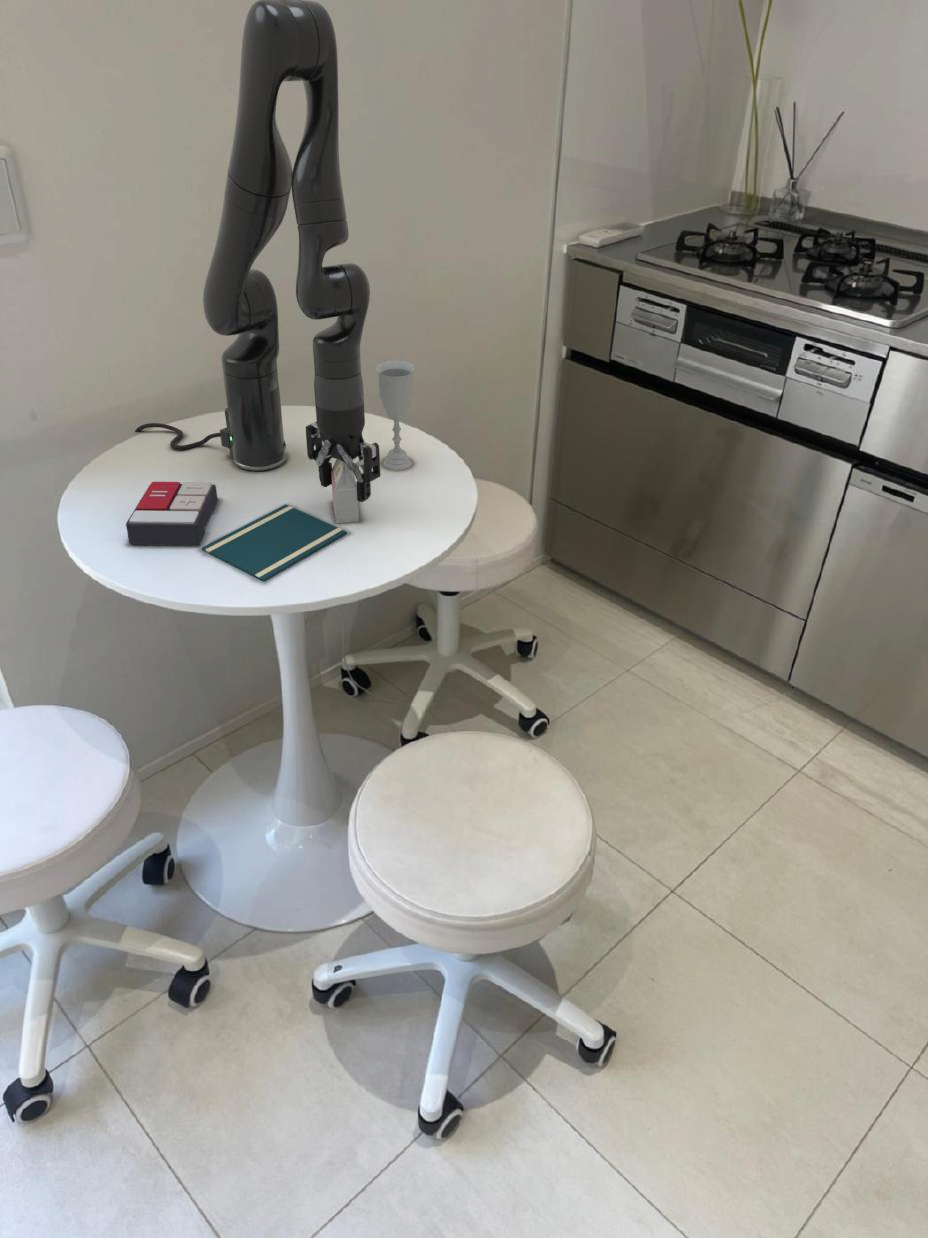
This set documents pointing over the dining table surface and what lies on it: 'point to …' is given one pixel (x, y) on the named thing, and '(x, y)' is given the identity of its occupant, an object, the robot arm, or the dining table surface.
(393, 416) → the chalice
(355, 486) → the white gable top carton
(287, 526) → the cloth
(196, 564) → the dining table surface
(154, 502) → the calculator
